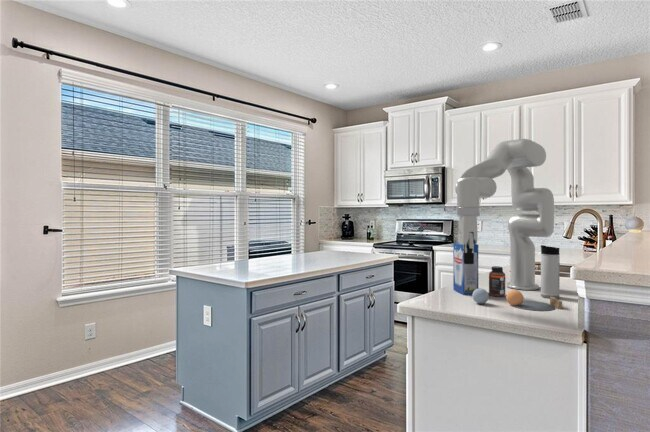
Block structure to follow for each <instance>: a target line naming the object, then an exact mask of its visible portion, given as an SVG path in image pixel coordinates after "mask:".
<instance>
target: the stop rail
mask: <svg viewBox="0 0 650 432" xmlns="http://www.w3.org/2000/svg"><path fill="white" fill-rule="evenodd" d="M549 304H551V305H553V306H555V309H558V310H562V309H563V301H562V300H560V299H559V298H557V299H556V298H554V297H550V298H549Z"/></svg>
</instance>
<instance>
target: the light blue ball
mask: <svg viewBox="0 0 650 432" xmlns="http://www.w3.org/2000/svg"><path fill="white" fill-rule="evenodd" d="M489 295H490V294H489V292H488V291H487V290H486V289H484V288H480V287H478V289H476V290H474V292H473V294H472V295H471V296H472V299H473V301H474V302H475V303H477V304H481V305H483V304H486V303H487V302H488V301H489Z"/></svg>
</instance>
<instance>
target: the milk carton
mask: <svg viewBox="0 0 650 432" xmlns="http://www.w3.org/2000/svg"><path fill="white" fill-rule="evenodd" d="M452 250H453V251H452V253H453V258H452V259H453V260H452V261H453V265H452V266H453V268H452V269H453V271H452V272H453V273H452V275H453V281H452V282H453V284H452V285H453V287H452V288H453V291H455V292H457V293H459V294H461V295H463V296H472V294H473V292H474V290H476V289H478V288H479V244H478V243H477V244H476V245H474V264H464V262H463V252H464V248H463V244H461V243H459V242H453V244H452Z"/></svg>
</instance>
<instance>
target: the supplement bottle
mask: <svg viewBox="0 0 650 432" xmlns="http://www.w3.org/2000/svg"><path fill="white" fill-rule="evenodd" d="M488 295H490V296H491V297H496V298H498V297H501V298H502V297H506V273H505V272H504V271H503V266H494V265H493V266H491V271H490V272H489V273H488Z"/></svg>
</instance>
